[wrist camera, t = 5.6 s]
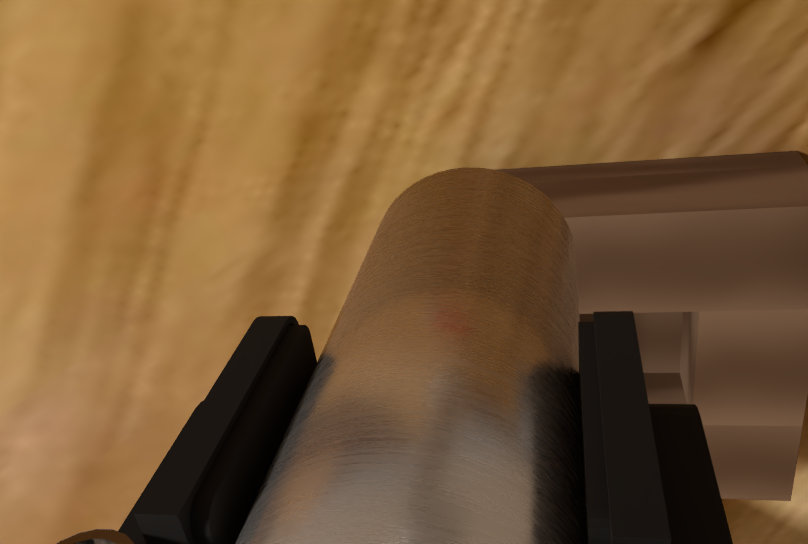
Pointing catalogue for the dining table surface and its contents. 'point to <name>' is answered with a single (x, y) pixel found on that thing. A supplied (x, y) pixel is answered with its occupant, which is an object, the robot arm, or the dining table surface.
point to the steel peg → (443, 383)
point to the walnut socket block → (704, 293)
